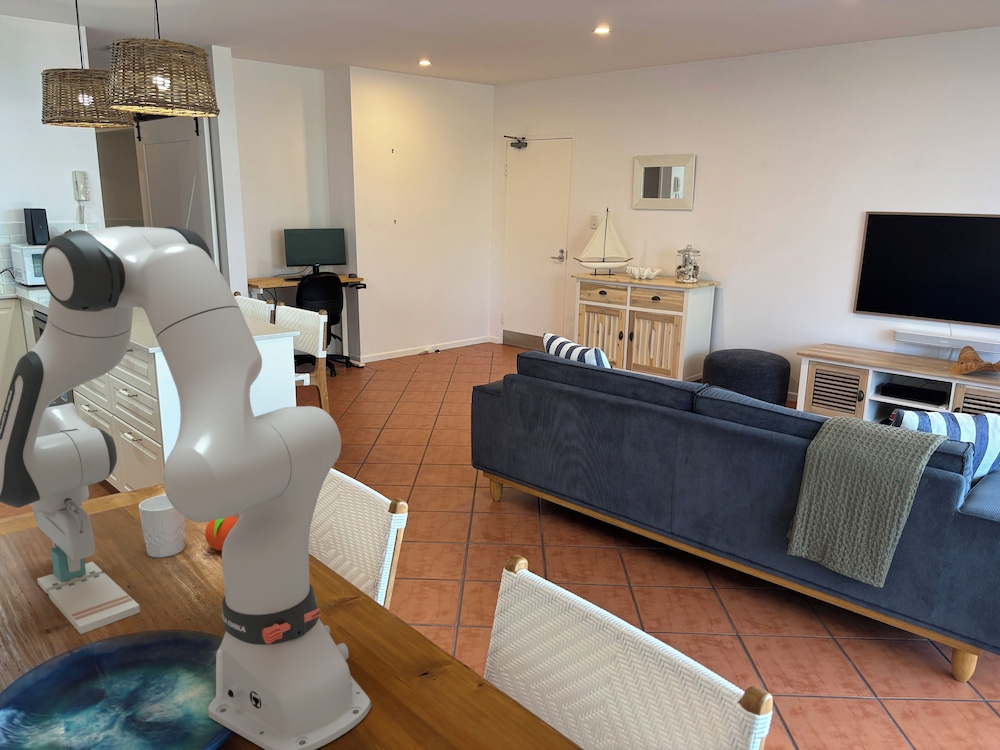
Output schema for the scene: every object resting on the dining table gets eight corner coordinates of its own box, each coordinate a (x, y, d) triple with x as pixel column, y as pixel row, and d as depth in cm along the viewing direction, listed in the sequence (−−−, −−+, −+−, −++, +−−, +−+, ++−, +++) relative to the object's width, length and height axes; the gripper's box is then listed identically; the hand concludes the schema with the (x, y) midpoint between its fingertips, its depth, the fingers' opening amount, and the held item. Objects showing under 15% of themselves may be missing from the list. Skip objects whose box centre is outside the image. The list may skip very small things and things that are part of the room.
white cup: (195, 542, 147) (191, 495, 145) (174, 560, 140) (169, 511, 137) (157, 540, 148) (153, 493, 146) (135, 558, 140) (129, 509, 138)
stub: (102, 575, 133) (99, 545, 132) (46, 593, 126) (42, 561, 125) (92, 566, 136) (89, 536, 135) (37, 583, 130) (33, 552, 129)
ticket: (140, 612, 122) (139, 604, 121) (80, 634, 115) (79, 626, 115) (105, 579, 132) (104, 572, 132) (49, 597, 126) (48, 590, 125)
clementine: (234, 559, 140) (232, 524, 139) (198, 559, 140) (195, 524, 139) (248, 541, 148) (246, 508, 146) (214, 540, 148) (211, 507, 146)
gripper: (100, 503, 123) (109, 578, 126) (60, 473, 137) (69, 542, 140) (58, 514, 119) (68, 592, 122) (21, 482, 132) (31, 552, 135)
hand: (68, 565), depth 131 cm, fingers closed on stub, 4 cm apart
